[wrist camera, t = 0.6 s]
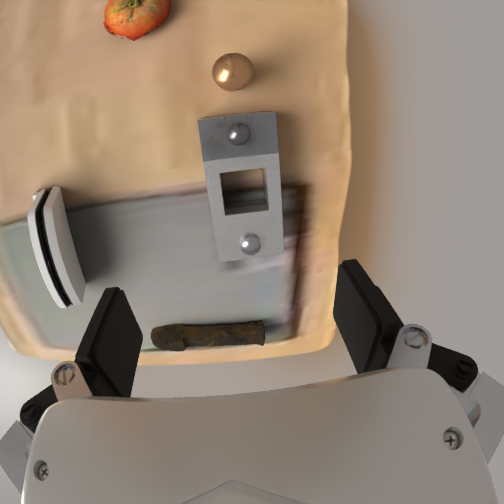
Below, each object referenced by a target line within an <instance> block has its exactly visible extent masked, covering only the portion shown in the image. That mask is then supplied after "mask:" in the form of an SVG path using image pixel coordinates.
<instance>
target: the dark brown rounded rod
mask: <svg viewBox="0 0 504 504" xmlns="http://www.w3.org/2000/svg"><path fill="white" fill-rule="evenodd" d="M151 339H152V342H153V344H154V345H155V346H156V347H158V348H159V349H160V350H170V351H184V350H185V349H186V348H187V347H194V346H224V345H247V344H259V345H262V346H263V345H264V342H265V329H264V325H263V322H262V320H260V321H259V322H257V323H255V322H253V321H251V322H250V323H248V324H235V325H220V324H219V325H216V326H210V325H209V326H185V325H184V324H171V325H166V326H161V327H158V328H154V329H152V332H151Z"/></svg>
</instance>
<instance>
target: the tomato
mask: <svg viewBox="0 0 504 504" xmlns="http://www.w3.org/2000/svg"><path fill="white" fill-rule="evenodd" d="M169 12H170V1H169V0H109V2H108V4H107V6H106V9H105V21H104V26H105V28H106V30H107V31H108V32H109V33H110V34H113V35H115V34H118V35H122V36H126V37H127V38H128V39H130V40H133V41H135V40H137V39H139V38H141V37H142V36H144V35H146V34H148V33H149V32H150V31H153V29H156V28H157V27H159V25H160V24H162V23H163V22H165V20H166V18H167V17H168V14H169ZM115 36H116V35H115ZM122 39H123V38H122Z"/></svg>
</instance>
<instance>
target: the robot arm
mask: <svg viewBox="0 0 504 504" xmlns="http://www.w3.org/2000/svg"><path fill="white" fill-rule="evenodd" d="M333 316H334V319H335V322H336V324H337V326H338V328H339V331H340V333H341V335H342V338H343V340H344V342H345V345H346V346H347V349H348V351H349V354H350V356H351V359H352V361H353V363H354V366H355V368H356V371H357V373H358V374H356V375H352V376H347V377H343V378H338V379H333V380H328V381H323V382H318V383H313V384H307V385H302V386H297V387H290V388H283V389H276V390H269V391H261V392H253V393H244V394H234V395H222V396H207V397H186V398H131V397H130V396H131V390H132V386H133V381H134V376H135V371H136V367H137V362H138V358H139V354H140V349H141V345H142V341H143V335H142V332H141V330H140V327H139V325H138V323H137V321H136V319H135V316H134V314H133V312H132V310H131V307H130V305H129V303H128V300H127V298H126V296H125V293H124V291H123V290H120V288H119V287H112V288H106V289H105V291H104V293H103V295H102V297H101V299H100V301H99V303H98V305H97V307H96V309H95V311H94V314H93V316H92V318H91V320H90V322H89V325H88V327H87V329H86V331H85V334H84V336H83V338H82V341H81V343H80V346H79V348H78V351H77V353H76V356H75V357H76V359H75V361H74V362H73V361H64V362H62V363H60V364H59V365H57V366H56V368H55V369H54V370H53V372H52V375H51V382H52V385H50V386H49V387H47V388H46V389H44V390H43V391H41V392H40V393H39V394H37V395H35V396H34V397H33V398H31V399H30V400H28V401H27V402H26V403H25V404H24V405H23V406H22V408H21V411H20V422H19V421H18V420H16V421H15V423H14V424H13V425H12V426H11V428H10V429H9V430H8V431H7V433H6V434H5V435H4V436H3V437H2V439H1V440H0V465H1V466H2V468H3V469H4V471H5V472H6V474H7V475H8V477H9V478H10V479H11V481H12V482H13V484H14V485H15V486H16V488H17V489H18V490H19V492H20V493H21V494H22V504H498V501H497V496H496V492H495V488H494V485H493V482H492V478H491V475H490V472H489V469H488V465H487V464H488V463H489V461H490V459H491V457H492V456H493V454H494V452H495V450H496V448H497V446H498V444H499V442H500V440H501V438H502V436H503V434H504V386H503V385H501V384H500V383H498V382H497V381H496V380H494V379H492V378H491V377H490V376H489V375H487V374H486V373H484V372H482V374H480V373H479V372H478V368H477V364H476V363H475V361H474V360H473V359H472V358H471V357H469V356H466V355H464V354H461V353H459V352H456V351H453V350H450V349H447V348H444V347H442V346H439V345H436V344H433V343H432V337H431V334H430V333H429V331H428V330H427V329H425V328H424V327H422V326H420V325H417V324H408V325H405V326H404V324H403V323H402V321H401V320H400V318H399V317H398V315H397V313H396V312H395V310H394V309H393V308H392V306H391V304H390V303H389V302H388V300H387V299H386V297H385V296H384V294H383V293H382V291H381V290H380V288H379V287H378V286H375V285H374V283H373V282H372V281H371V279H370V278H369V276H368V275H367V273H366V272H365V271H364V269H363V268H362V266H361V265H360V264H359V262H358V261H357V260H356V259H351V260H344V261H343V262H342V264H340V265H339V266H338V274H337V284H336V292H335V300H334V308H333Z"/></svg>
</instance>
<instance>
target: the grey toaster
mask: <svg viewBox="0 0 504 504" xmlns="http://www.w3.org/2000/svg"><path fill="white" fill-rule="evenodd" d="M33 200H34V202H33V204H32V206H31V207H30V209H29V211H28V224H29V231H30V236H31V241H32V245H33V249H34V253H35V256H36V260H37V263H38V266H39V269H40V272H41V274H42V277H43V279H44V281H45V284H46V286H47V288H48V290H49V292H50V294H51V296H52V297H53V299H54V300H55V302H56V303H57V305H58V306H59V307H60V308H68V306H69V305H70V303H71V305H74V306H77V305H79V304H81V303H82V302H83V296H84V291H85V286H86V282H85V279H84V276H83V273H82V270H81V267H80V264H79V261H78V257H77V254H76V251H75V247H74V244H73V240H72V236H71V232H70V228H69V224H68V220H67V216H66V211H65V207H64V202H63V197H62V192H61V187H59V186H53V188H52V189H51V190H50V192H49V194H48V191H46V189H43V190H41V191H39V192H38V191H36V192H35V193H34V194H33Z"/></svg>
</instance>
